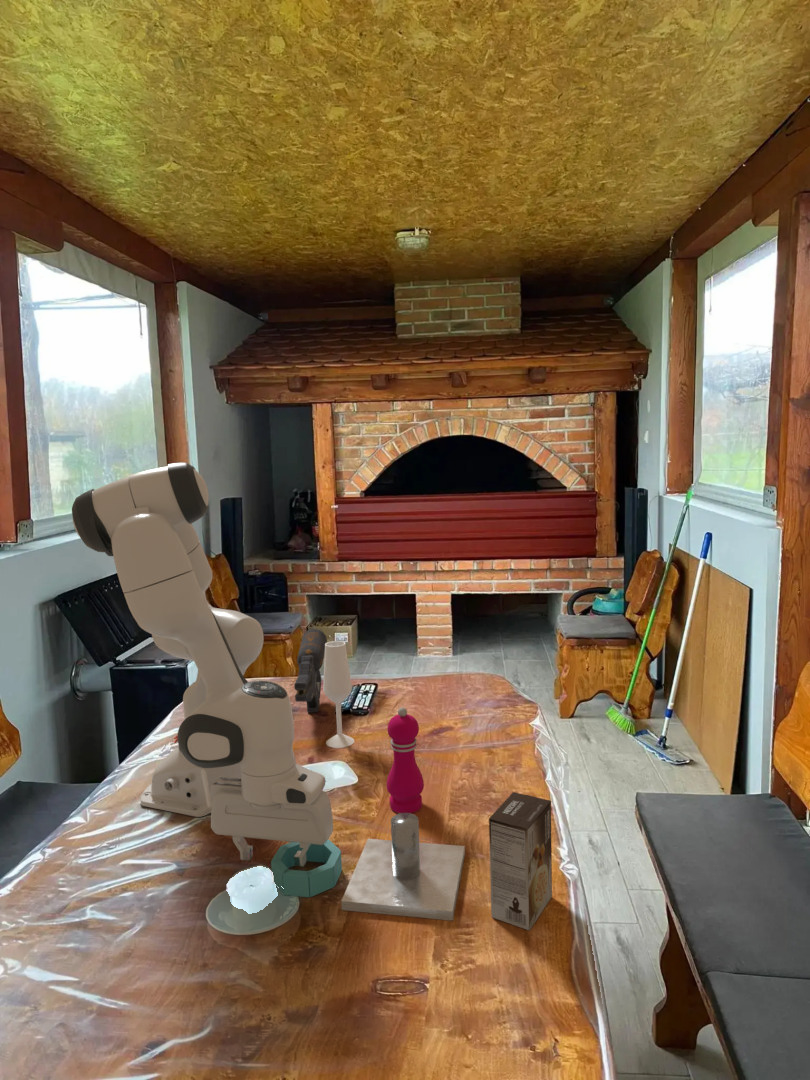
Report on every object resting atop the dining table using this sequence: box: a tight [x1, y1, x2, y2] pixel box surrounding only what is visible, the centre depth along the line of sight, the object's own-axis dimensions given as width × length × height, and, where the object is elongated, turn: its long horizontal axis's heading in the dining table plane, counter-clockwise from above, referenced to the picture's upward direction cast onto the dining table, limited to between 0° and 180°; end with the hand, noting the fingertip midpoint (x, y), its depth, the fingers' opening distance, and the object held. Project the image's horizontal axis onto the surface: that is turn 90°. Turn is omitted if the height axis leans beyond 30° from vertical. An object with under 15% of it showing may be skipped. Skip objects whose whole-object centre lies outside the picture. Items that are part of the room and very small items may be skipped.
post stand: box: [340, 813, 466, 921], centre depth 114 cm, size 17×17×10 cm
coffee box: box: [488, 791, 553, 931], centre depth 106 cm, size 9×6×16 cm
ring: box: [270, 838, 343, 898], centre depth 117 cm, size 11×11×4 cm
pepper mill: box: [386, 707, 425, 814], centre depth 136 cm, size 7×7×20 cm
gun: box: [294, 628, 328, 714], centre depth 184 cm, size 7×28×20 cm, turn 179°
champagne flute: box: [322, 640, 355, 749], centre depth 166 cm, size 7×7×24 cm
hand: (273, 861), depth 116 cm, fingers open, 8 cm apart
